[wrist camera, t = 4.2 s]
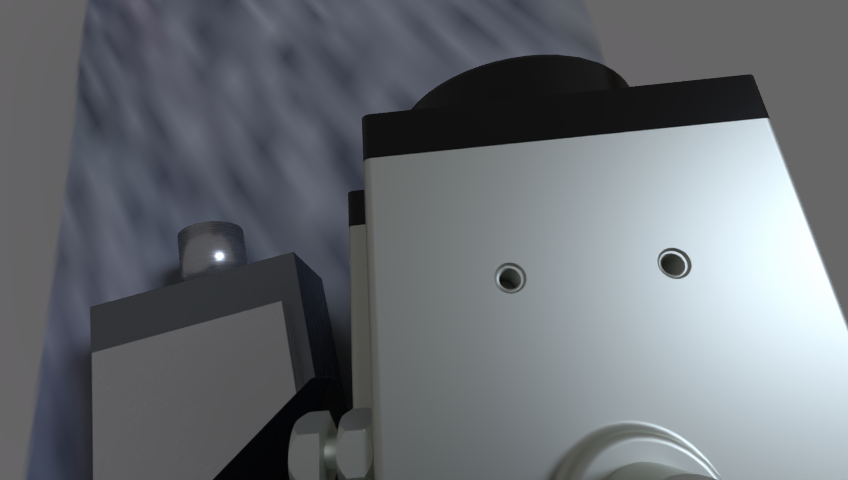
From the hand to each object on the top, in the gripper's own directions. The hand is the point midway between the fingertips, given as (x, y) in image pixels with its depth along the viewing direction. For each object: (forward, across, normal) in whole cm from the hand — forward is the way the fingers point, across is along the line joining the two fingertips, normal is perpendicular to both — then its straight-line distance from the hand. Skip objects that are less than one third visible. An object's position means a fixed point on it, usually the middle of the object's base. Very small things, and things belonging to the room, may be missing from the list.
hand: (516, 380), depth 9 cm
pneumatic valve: (+4, 0, +6) cm, 7 cm away
